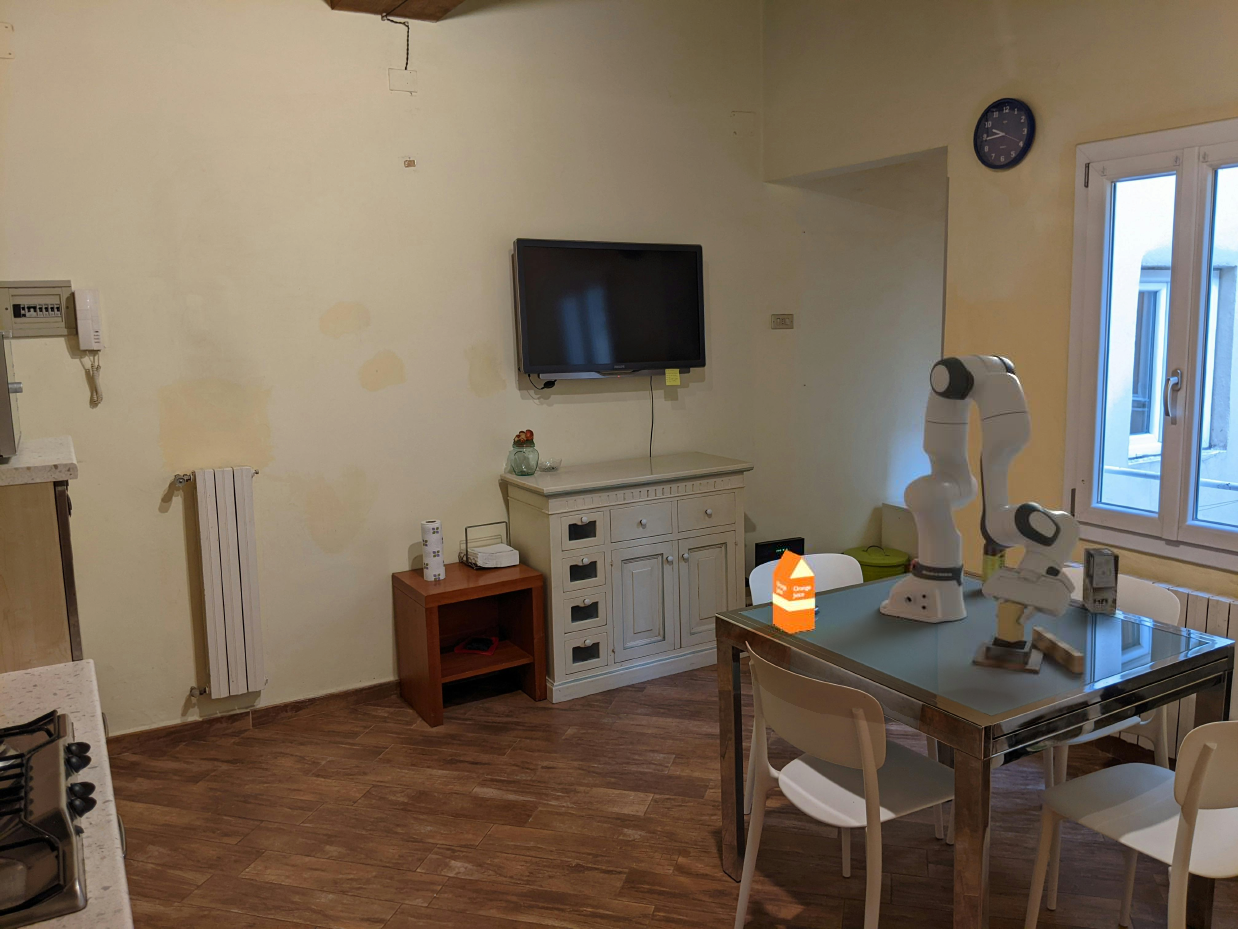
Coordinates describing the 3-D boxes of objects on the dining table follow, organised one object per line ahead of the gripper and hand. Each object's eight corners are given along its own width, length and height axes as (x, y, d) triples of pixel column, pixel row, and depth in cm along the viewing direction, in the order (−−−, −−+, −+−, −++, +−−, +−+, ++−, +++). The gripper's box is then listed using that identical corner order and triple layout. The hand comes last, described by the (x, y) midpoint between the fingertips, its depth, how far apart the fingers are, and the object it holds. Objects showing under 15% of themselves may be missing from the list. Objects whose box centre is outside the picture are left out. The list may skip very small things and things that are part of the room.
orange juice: (788, 633, 235) (788, 558, 233) (772, 624, 244) (772, 551, 241) (815, 629, 238) (815, 555, 235) (798, 620, 246) (798, 548, 243)
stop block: (997, 637, 213) (998, 604, 212) (1008, 634, 215) (1009, 601, 214) (1012, 642, 209) (1013, 608, 208) (1023, 639, 211) (1024, 605, 210)
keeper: (972, 664, 211) (972, 648, 210) (981, 645, 223) (981, 630, 222) (1038, 673, 204) (1039, 657, 203) (1044, 653, 216) (1044, 638, 215)
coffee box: (1117, 614, 244) (1120, 555, 241) (1091, 613, 245) (1093, 555, 243) (1106, 604, 252) (1109, 547, 250) (1081, 603, 254) (1083, 547, 251)
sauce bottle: (1003, 593, 265) (1005, 526, 262) (980, 591, 268) (982, 525, 265) (1005, 588, 270) (1007, 522, 268) (983, 585, 274) (985, 521, 271)
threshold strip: (1031, 643, 223) (1032, 627, 223) (1040, 642, 223) (1040, 627, 223) (1074, 672, 203) (1075, 655, 203) (1083, 672, 203) (1084, 655, 203)
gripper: (993, 557, 222) (965, 603, 219) (1071, 574, 205) (1042, 623, 201) (1004, 572, 225) (977, 617, 222) (1082, 589, 208) (1054, 639, 204)
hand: (1009, 620), depth 211 cm, fingers closed on stop block, 4 cm apart
